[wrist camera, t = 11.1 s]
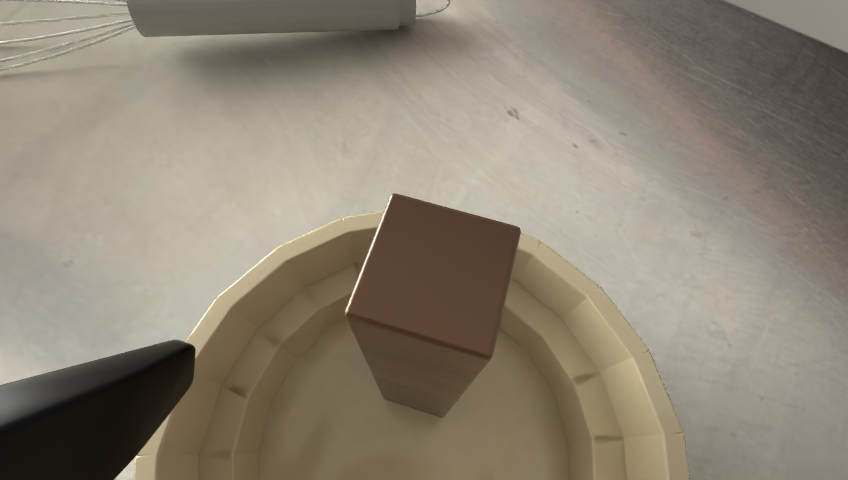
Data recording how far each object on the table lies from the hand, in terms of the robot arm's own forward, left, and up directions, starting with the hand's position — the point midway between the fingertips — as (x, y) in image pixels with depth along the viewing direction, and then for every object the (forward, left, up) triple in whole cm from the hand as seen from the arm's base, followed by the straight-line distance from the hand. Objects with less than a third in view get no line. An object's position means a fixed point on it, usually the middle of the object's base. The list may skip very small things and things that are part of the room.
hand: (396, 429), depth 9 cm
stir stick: (+2, 0, -8) cm, 9 cm away
